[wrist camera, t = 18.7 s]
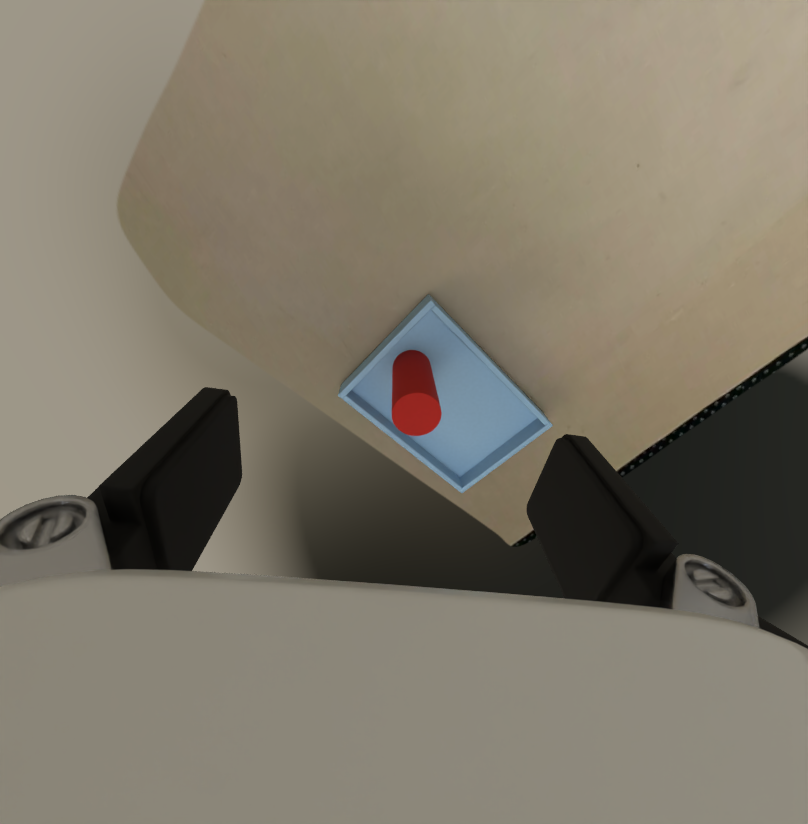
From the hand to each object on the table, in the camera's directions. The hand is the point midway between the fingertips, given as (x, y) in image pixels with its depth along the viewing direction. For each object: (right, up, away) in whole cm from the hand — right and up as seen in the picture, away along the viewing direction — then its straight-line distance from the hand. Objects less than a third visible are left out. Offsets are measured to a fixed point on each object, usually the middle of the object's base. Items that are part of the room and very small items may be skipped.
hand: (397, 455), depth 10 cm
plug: (+1, +6, +27) cm, 27 cm away
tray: (+5, +3, +29) cm, 30 cm away
